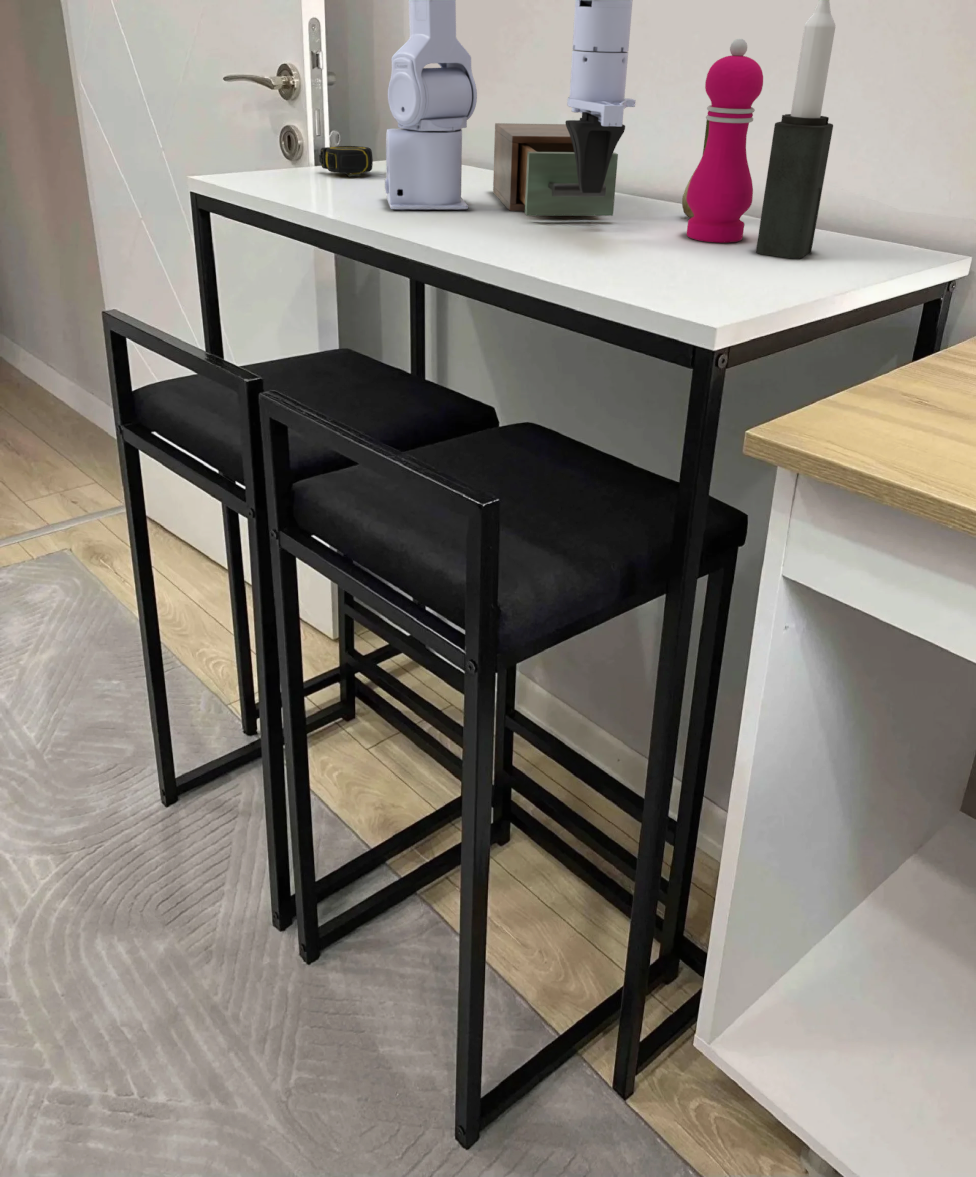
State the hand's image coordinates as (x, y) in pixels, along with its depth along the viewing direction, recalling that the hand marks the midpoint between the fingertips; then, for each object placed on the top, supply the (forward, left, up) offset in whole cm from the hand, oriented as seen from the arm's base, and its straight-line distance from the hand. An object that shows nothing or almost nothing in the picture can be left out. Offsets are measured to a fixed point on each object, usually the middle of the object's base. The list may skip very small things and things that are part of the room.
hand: (590, 192), depth 114 cm
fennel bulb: (+17, +12, -5) cm, 21 cm away
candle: (+20, -7, -5) cm, 22 cm away
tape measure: (-25, +46, -5) cm, 52 cm away
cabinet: (0, +24, -5) cm, 24 cm away
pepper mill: (+15, +1, -5) cm, 16 cm away
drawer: (0, +13, -4) cm, 14 cm away
